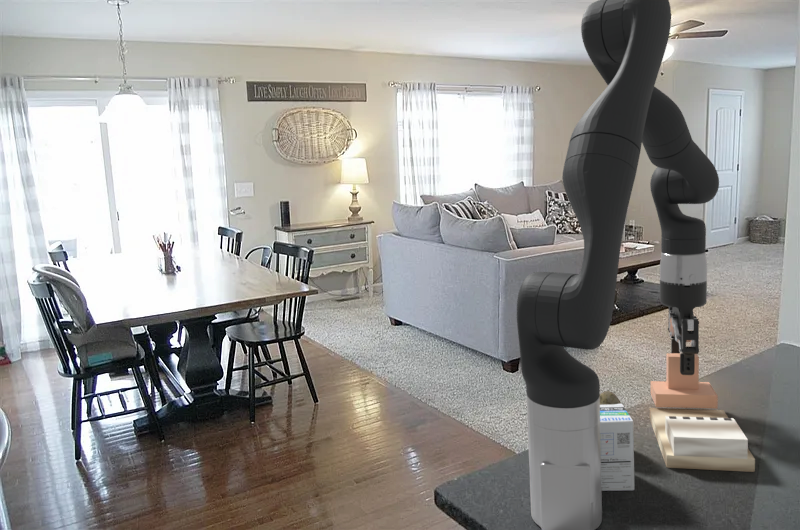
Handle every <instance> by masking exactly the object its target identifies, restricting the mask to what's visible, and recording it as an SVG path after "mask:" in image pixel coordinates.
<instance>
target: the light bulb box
mask: <svg viewBox="0 0 800 530" xmlns="http://www.w3.org/2000/svg"><path fill="white" fill-rule="evenodd" d="M634 438H635V437H634V420H633V418H632V417H631V415H630V414H629V413H628V411H627V410H626V409H625V406H624V405H623V403H621V404H603V405H600V446H601V492H605V491H607V492H611V491H613V492H615V491H617V492H618V491H619V492H620V491H635V453H634V452H635V443H634Z"/></svg>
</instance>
